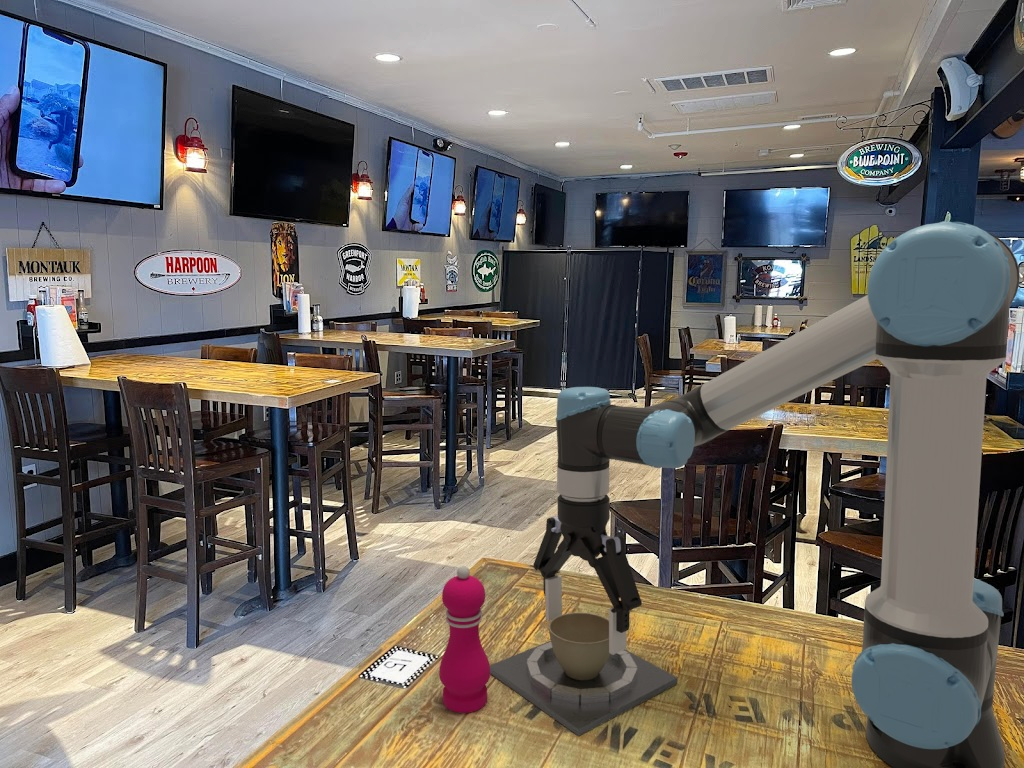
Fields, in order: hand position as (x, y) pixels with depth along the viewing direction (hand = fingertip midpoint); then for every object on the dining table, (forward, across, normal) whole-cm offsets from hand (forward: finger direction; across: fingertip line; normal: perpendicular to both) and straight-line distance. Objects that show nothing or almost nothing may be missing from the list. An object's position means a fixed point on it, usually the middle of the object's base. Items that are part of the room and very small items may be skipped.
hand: (584, 633), depth 108 cm
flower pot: (+6, 0, 0) cm, 6 cm away
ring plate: (+7, 0, 0) cm, 7 cm away
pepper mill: (+7, +6, +17) cm, 20 cm away
